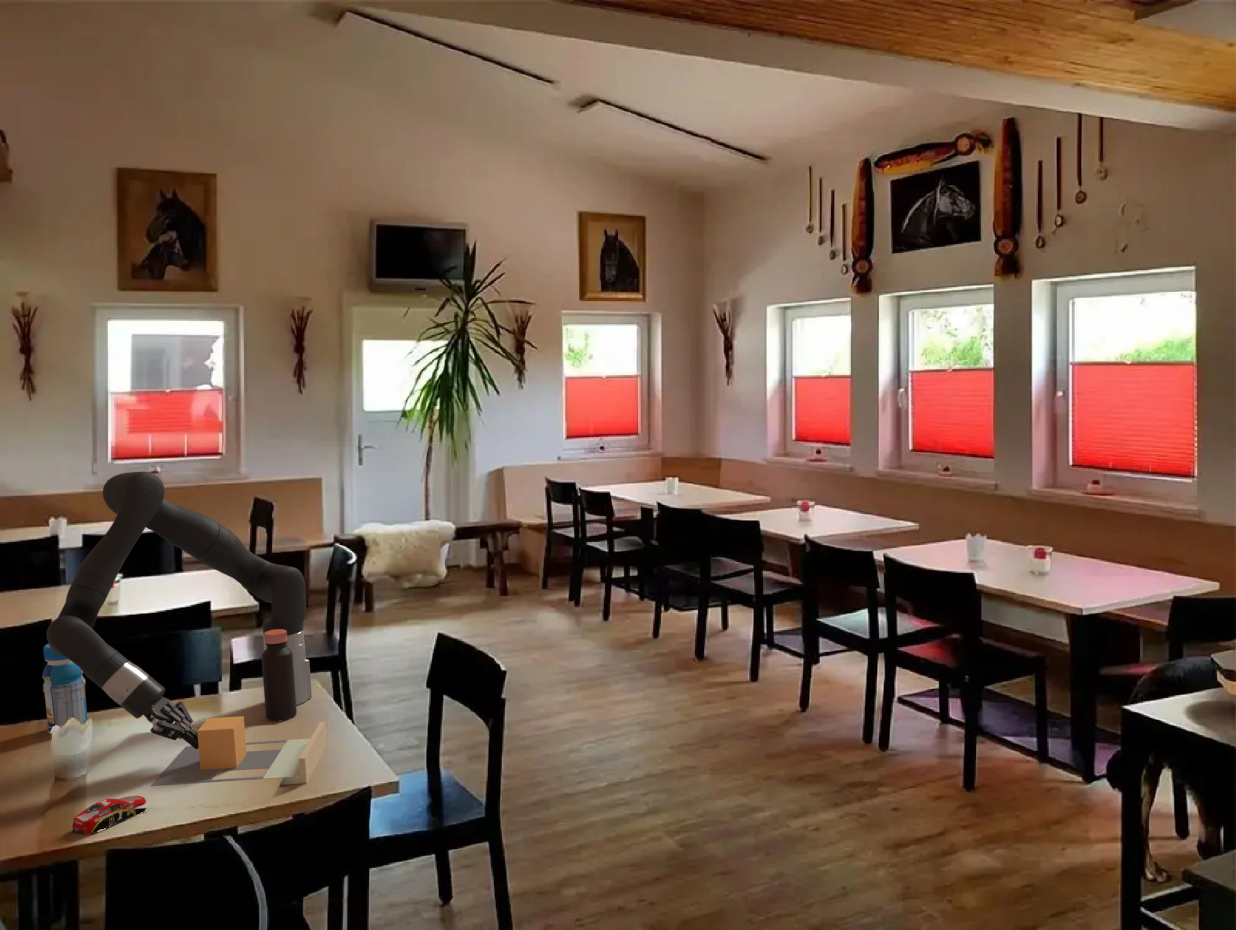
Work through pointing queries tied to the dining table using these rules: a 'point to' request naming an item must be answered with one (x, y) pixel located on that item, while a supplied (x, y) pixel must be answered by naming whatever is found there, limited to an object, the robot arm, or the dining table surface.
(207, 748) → the orange block
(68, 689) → the beverage bottle
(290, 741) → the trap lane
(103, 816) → the race car
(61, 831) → the dining table surface
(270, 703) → the vinegar
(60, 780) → the dining table surface
